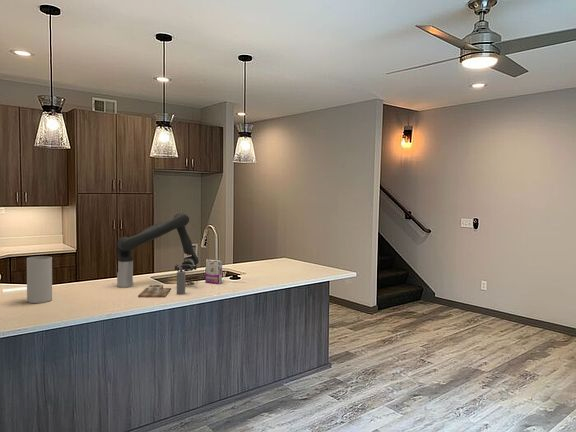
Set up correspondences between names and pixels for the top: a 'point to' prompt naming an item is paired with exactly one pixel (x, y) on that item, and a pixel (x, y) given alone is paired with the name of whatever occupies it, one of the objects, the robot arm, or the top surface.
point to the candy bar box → (213, 271)
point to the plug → (181, 281)
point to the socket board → (155, 291)
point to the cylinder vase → (39, 279)
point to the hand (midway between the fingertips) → (184, 269)
